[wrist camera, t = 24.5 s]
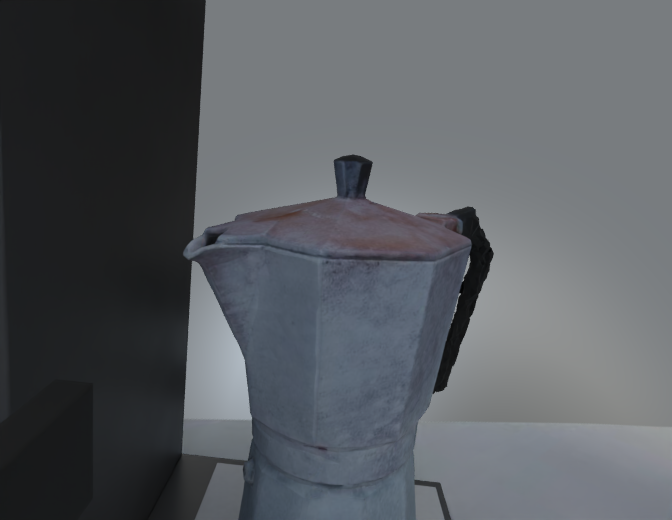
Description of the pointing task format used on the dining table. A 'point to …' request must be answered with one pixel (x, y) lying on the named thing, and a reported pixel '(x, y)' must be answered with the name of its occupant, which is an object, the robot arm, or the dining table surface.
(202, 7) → the coffee maker
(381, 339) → the moka pot
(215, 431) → the dining table surface
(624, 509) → the dining table surface
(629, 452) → the dining table surface
